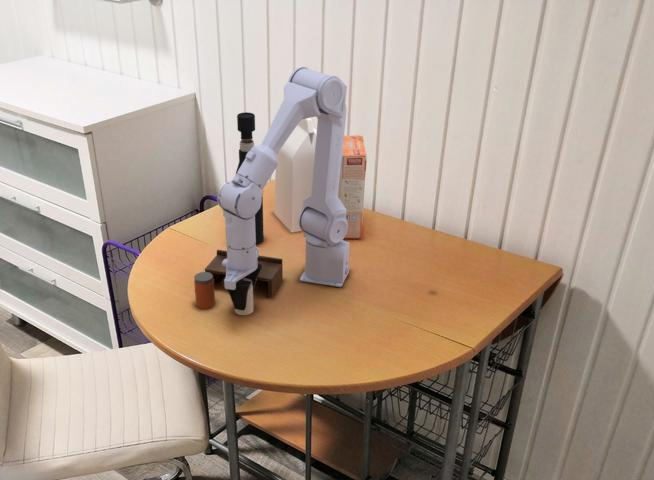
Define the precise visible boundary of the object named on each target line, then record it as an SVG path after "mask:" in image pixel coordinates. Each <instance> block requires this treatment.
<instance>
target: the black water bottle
mask: <svg viewBox="0 0 654 480" xmlns="http://www.w3.org/2000/svg"><path fill="white" fill-rule="evenodd" d="M236 123H237V124H236V125H237V126H236V127H237V131H238V132H239V133H240V141H239V149H238V165H237V168H236V170H235V174H236V173H237V172H238V170H239V168H240V167H241V165H242V163H243V162H244V160H245V158H246V155H247V153H248V152H249V151H250V150H251V148H252V147H254V146H255V141H254V140H253V139H254V137H253V132H255V131H256V115H255V114H254V113H253V112H246V111H245V112H240V113H237V115H236ZM263 197H264V194H263V195H262V203H261V207H260V209H259V210H258V211H257V213H256V214H255V233H256V246H259V245H261V244H262V243H263V242H264V240H265V239H264V236H265V235H264V234H265V233H264V198H263Z"/></svg>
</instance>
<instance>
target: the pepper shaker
mask: <svg viewBox="0 0 654 480" xmlns="http://www.w3.org/2000/svg"><path fill="white" fill-rule="evenodd" d="M193 278H194V280H193V283H194V296H195V305H196V307H197V308H199V309H202V310H206V309H211V308H213V307H215V306H216V293H215V282H214V279H213V275H212V274H211V273H209V272H205V271H200V272H198V273H196V274H194V275H193Z"/></svg>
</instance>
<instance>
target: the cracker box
mask: <svg viewBox="0 0 654 480" xmlns="http://www.w3.org/2000/svg"><path fill="white" fill-rule="evenodd" d="M367 159H368V155H367V150H366V146H365V142H364V137H363V135H344V141H343V150H342V160H341V170H340V179H339V189H338V198H339V199H340V201H341V202H342V204H343V205H344V207H345V208H346V219H347V223H348V229H347V233H346V235H345V237H344V238H343V239H362V232H363V231H362V230H363V219H364V218H363V217H364V216H363V215H364V203H365V202H364V201H365V190H366V189H365V188H366V174H367V162H368V161H367Z"/></svg>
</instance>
